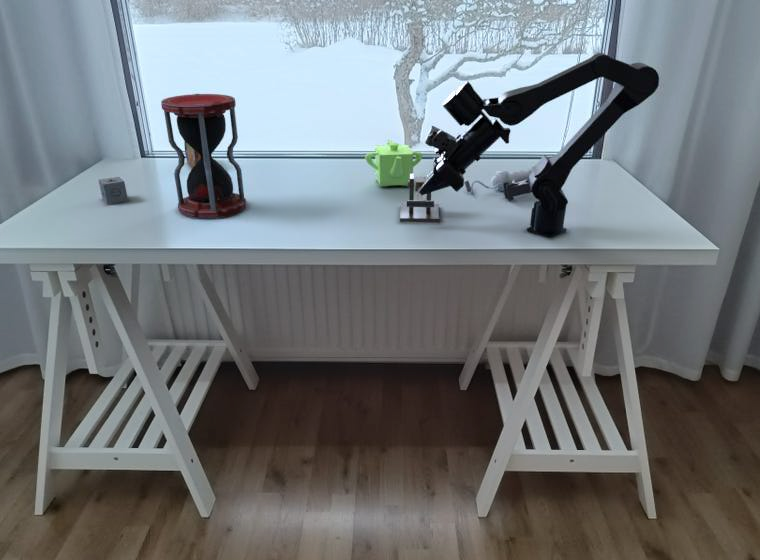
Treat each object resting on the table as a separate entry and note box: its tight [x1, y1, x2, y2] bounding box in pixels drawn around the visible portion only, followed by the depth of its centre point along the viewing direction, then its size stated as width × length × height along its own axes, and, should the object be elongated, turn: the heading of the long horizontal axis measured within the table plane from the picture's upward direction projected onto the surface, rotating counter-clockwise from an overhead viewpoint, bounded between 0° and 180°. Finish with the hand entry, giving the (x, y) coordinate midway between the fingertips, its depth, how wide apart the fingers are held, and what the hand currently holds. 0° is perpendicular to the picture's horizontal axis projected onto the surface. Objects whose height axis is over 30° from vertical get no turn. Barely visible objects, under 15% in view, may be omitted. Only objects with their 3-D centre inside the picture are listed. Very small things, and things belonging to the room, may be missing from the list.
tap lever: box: [406, 176, 435, 207], centre depth 148 cm, size 11×6×2 cm, turn 177°
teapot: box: [364, 139, 423, 188], centre depth 175 cm, size 15×13×11 cm
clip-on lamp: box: [464, 168, 532, 202], centre depth 169 cm, size 12×6×18 cm
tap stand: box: [399, 173, 440, 223], centre depth 153 cm, size 11×9×9 cm
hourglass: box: [160, 93, 247, 219], centre depth 153 cm, size 16×16×25 cm
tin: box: [183, 140, 200, 169], centre depth 191 cm, size 15×3×8 cm, turn 25°
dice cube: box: [98, 176, 129, 206], centre depth 164 cm, size 5×5×5 cm
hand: (420, 193), depth 144 cm, fingers closed
